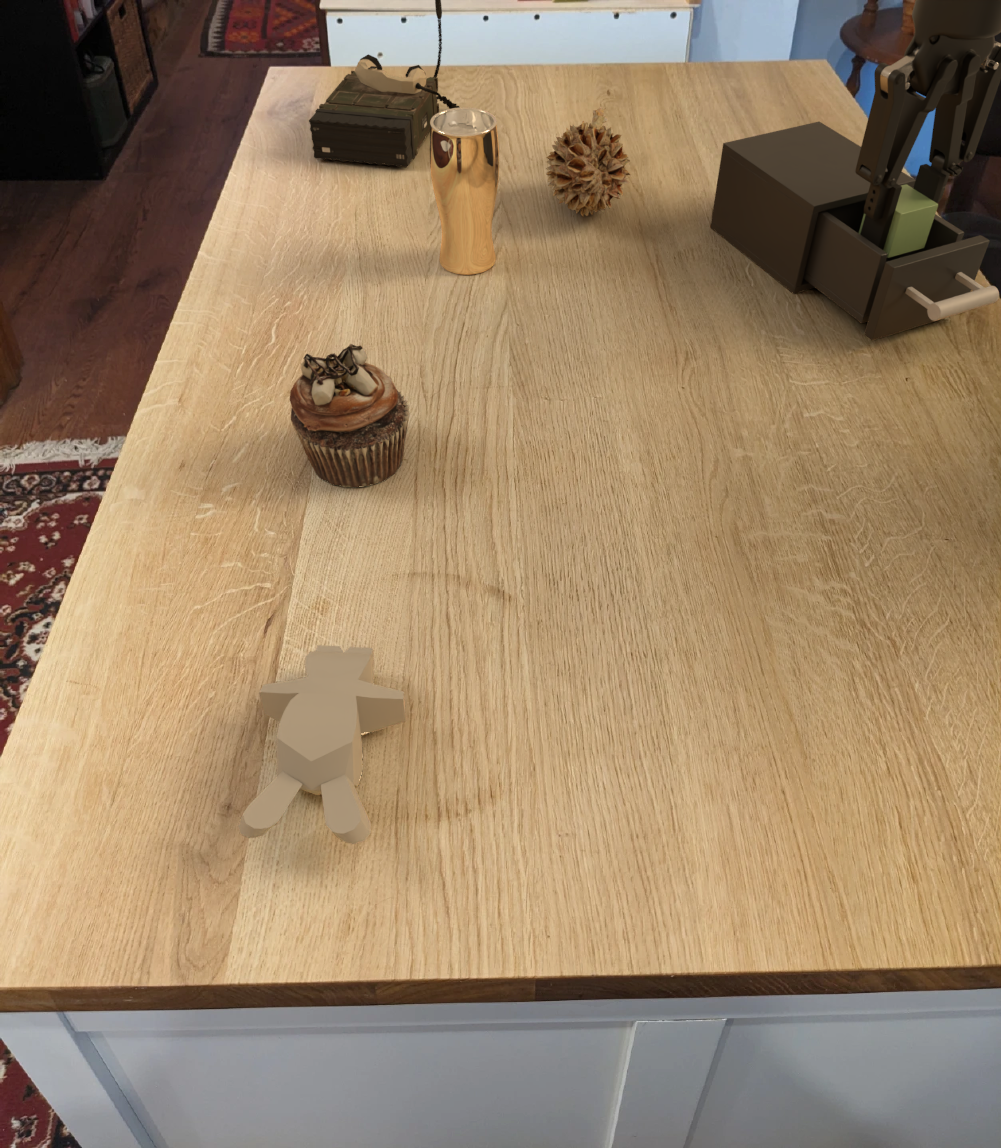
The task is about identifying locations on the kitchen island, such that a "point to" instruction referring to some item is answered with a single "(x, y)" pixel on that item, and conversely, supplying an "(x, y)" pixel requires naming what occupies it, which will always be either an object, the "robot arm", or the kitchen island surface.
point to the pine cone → (588, 166)
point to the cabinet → (785, 194)
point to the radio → (378, 113)
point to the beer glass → (465, 186)
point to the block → (909, 222)
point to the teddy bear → (324, 739)
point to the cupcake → (349, 418)
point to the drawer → (895, 273)
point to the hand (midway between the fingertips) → (892, 240)
